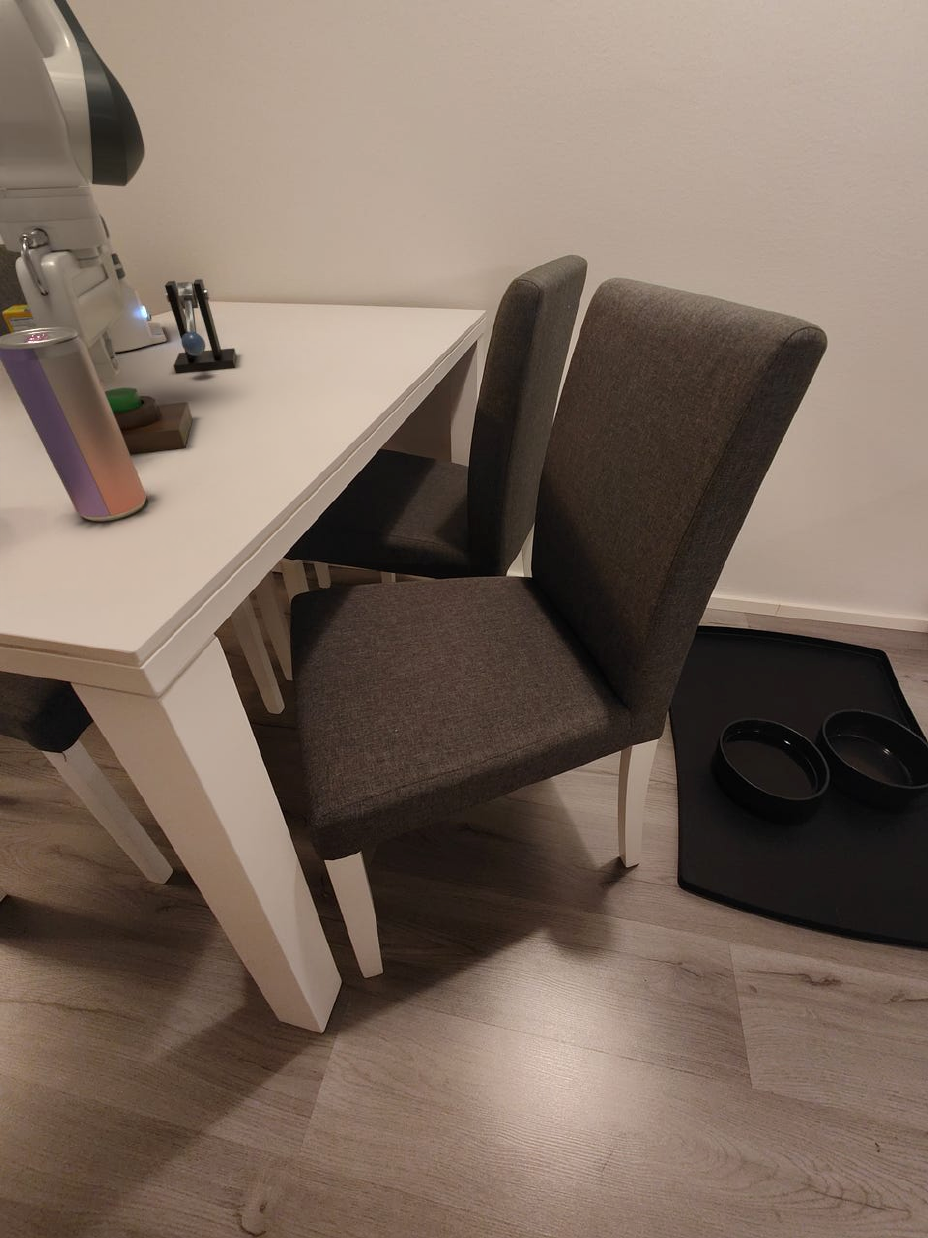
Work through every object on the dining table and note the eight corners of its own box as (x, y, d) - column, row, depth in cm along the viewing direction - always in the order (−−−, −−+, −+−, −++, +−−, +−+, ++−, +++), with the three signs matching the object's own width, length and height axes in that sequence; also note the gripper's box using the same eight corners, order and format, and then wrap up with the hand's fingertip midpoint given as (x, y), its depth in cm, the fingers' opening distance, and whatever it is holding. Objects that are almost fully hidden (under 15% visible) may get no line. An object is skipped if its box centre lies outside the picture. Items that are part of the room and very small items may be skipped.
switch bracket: (234, 367, 92) (213, 283, 84) (175, 373, 90) (148, 288, 82) (236, 355, 98) (216, 276, 90) (181, 360, 96) (155, 280, 88)
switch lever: (208, 359, 85) (202, 341, 83) (186, 361, 85) (179, 343, 82) (200, 297, 90) (194, 278, 87) (179, 298, 89) (172, 280, 86)
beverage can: (76, 529, 50) (-17, 347, 41) (82, 501, 55) (-1, 331, 45) (148, 515, 52) (75, 338, 43) (149, 489, 57) (82, 323, 47)
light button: (108, 404, 66) (102, 389, 65) (145, 401, 67) (139, 385, 66) (101, 415, 63) (95, 399, 62) (140, 411, 64) (134, 395, 63)
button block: (90, 430, 70) (76, 397, 68) (192, 419, 73) (182, 386, 70) (70, 461, 63) (53, 425, 60) (185, 447, 65) (173, 412, 63)
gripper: (58, 232, 47) (124, 401, 56) (108, 218, 63) (153, 352, 71) (-27, 236, 46) (53, 408, 55) (45, 221, 61) (99, 357, 70)
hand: (110, 376), depth 63 cm, fingers closed
